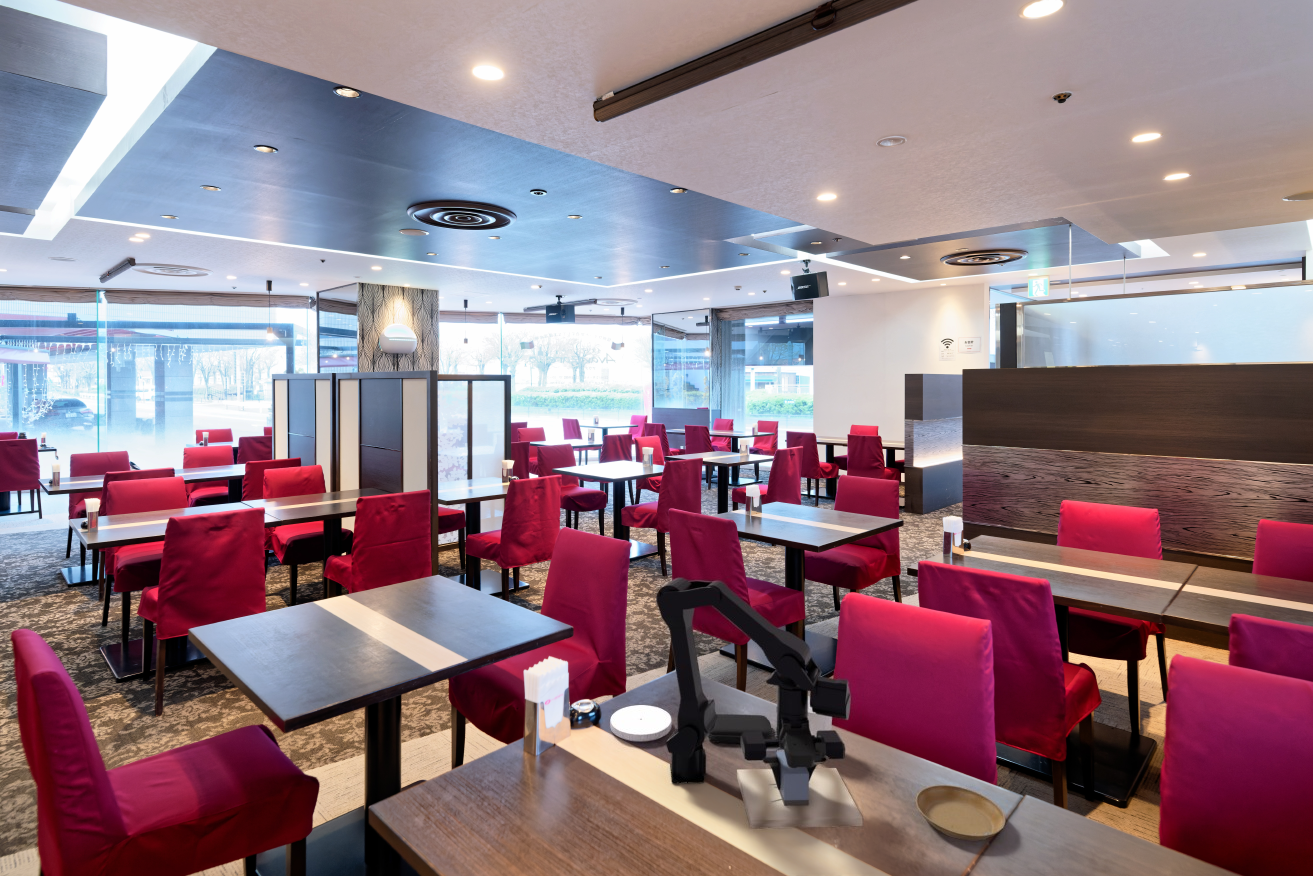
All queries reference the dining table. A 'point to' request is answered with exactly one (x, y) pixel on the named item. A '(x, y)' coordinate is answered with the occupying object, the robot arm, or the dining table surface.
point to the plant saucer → (960, 812)
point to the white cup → (817, 721)
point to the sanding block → (793, 783)
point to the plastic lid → (640, 723)
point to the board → (824, 808)
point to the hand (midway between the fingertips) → (791, 788)
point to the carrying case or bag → (739, 727)
